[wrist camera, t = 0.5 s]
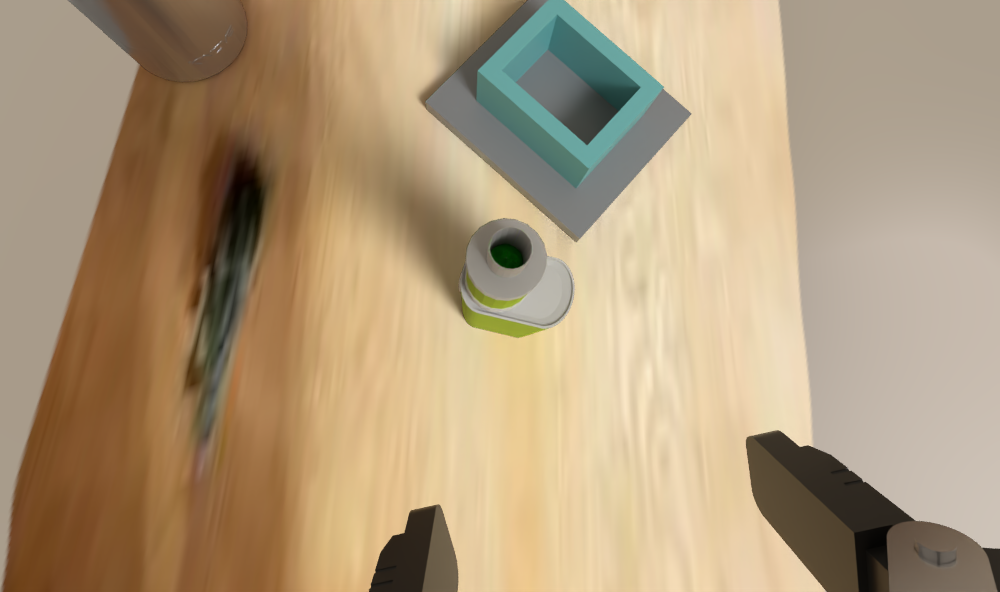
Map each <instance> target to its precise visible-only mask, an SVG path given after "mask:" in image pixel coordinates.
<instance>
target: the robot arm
mask: <svg viewBox="0 0 1000 592" xmlns="http://www.w3.org/2000/svg"><path fill="white" fill-rule="evenodd" d="M68 1H69V2H71V3H72V4H73V5H74V6H75V7H76V8H77V9H78V10H79V11H81V12H82V13H83V14H84V15H85V16H86V17H88V18H89V19H90V20H91V21H92V22H93V23H94V24H95V25H96V26H97V27H99V28H100V29H101V30H102V31H103V32H104V33H105V34H106V35H107V36H108V37H110V38H111V39H112V40H113V41H114V42H115V43H116V44H117V45H119V46H120V47H121V48H122V49H123V50H124V51H125V52H126V53H128V54H129V55H130V56H131V57H132V58H133V59H135V60H136V61H137V62H138V63H139V64H140V65H141V66H142V67H143V68H145V69H146V70H147V71H149V72H151V73H152V74H154V75H156V76H158V77H161V78H164V79H167V80H171V81H179V82H189V81H197V80H201V79H205V78H209V77H211V76H213V75H215V74H217V73H219V72H221V71H222V70H223V69H225V68H226V67H227V66H229V65H230V64H231V63H232V62H233V60H234V59H235V58H236V57H237V56H238V54H239V52H240V51H241V49H242V47H243V45H244V42H245V38H246V35H247V19H246V14H245V11H244V8H243V6H242V4H241V2H240V0H68ZM746 449H747V456H748V464H749V471H750V479H751V486H752V492H753V496H754V499H755V501H756V504H757V506H758V508H759V510H760V511H761V513H762V515H763V516H764V517H765V518H766V520H767V521H768V522H769V523H770V524H771V526H772V527H773V528H774V529H775V530H776V532H777V533H778V534H779V535H780V536H781V538H782V539H783V540H784V541H785V542H786V544H787V545H788V546H789V547H790V548H791V549H792V551H793V552H794V553H795V554H796V555H797V557H798V558H799V559H800V560H801V561H802V563H803V564H804V565H805V566H806V567H807V569H808V570H809V571H810V572H811V573H812V575H813V576H814V577H815V578H816V579H817V580H818V582H819V583H820V584H821V585H822V586H823V588H824V589H825V590H826V591H827V592H1000V549H992V548H981V546H980V545H979V544H978V543H976V542H975V541H974V540H973V539H971V538H970V537H968V536H966V535H965V534H963V533H961V532H959V531H957V530H954V529H952V528H949V527H946V526H943V525H940V524H935V523H931V522H924V521H915V520H914V519H913V518H911V517H910V516H909V515H907V514H906V513H904V511H902V510H901V509H900V508H898V507H897V506H896V505H895V504H893V503H892V502H891V501H889V500H888V499H887V498H885V497H884V496H883V495H882V494H880V493H879V492H878V491H877V490H875V489H874V488H873V487H871V486H870V485H869V484H868V483H866V482H863V481H862V479H861V478H860V477H858V476H857V475H856V474H855V473H853V472H852V471H849V470H848V468H847V467H846V466H844V465H843V464H842V463H840V462H839V461H838V460H837V459H835V458H834V457H833V456H832V455H830V454H827V453H825V452H823V451H820V450H818V449H815V448H813V447H811V446H803V447H799V446H798V445H797V444H796V443H794V442H793V441H792V440H791V439H790V438H788V437H787V436H786V435H785V434H784V433H782V432H781V431H778V430H776V431H772V432H767V433H763V434H758V435H754V436H749V437H747V439H746ZM375 571H376V573H375V574H374V576H373V579H372V583H371V588H370V589H369V592H457V591H458V566H457V560H456V555H455V551H454V548H453V545H452V541H451V538H450V534H449V531H448V528H447V524H446V521H445V518H444V514H443V511H442V508H441V506H440V505H439V504H438V505H433V506H429V507H424V508H420V509H415V510H411V511H410V513H409V517H408V521H407V525H406V529H405V533H403V534H399V535H394V536H392V538H391V539H390V540H389V542H388V543H387V544H386V546H385V547H384V549H383V550H382V551H381V553H380V556H379V559H378V563H377V566H376V569H375Z"/></svg>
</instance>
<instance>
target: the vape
mask: <svg viewBox="0 0 1000 592" xmlns="http://www.w3.org/2000/svg"><path fill="white" fill-rule="evenodd" d="M459 291H460V292H461V298H462V310H463V315H464V318H465V320H466V322H467V323H468V324H469V325H470V326H472V327H474V328H479V329H483V330H487V331H491V332H495V333H500V334H504V335H508V336H512V337H516V338H520V337H524V336H527V335H530V334H533V333H536V332H539V331H542V330H545V329H548V328H551V327H554V326H556V325H557V324H559V323H560V322H561V321H562V320H563V319H564V318H565V316H566V315H567V314H568V312H569V310H570V308H571V305H572V302H573V298H574V279H573V275H572V273H571V271H570V269H569V267H568V266H567V265H566V263H565V262H563V261H562V260H560V259H558V258H554V257H550V256H547V253H546V249H545V246H544V243H543V241H542V239H541V238H540V236H539V235H538V233H537V232H536V231H535V230H533V229H532V228H531V227H530V226H529V225H528V224H525V223H523V222H520V221H518V220H515V219H505V218H503V219H498V220H493V221H490V222H488V223H487V224H485V225H483V226H482V227H480V228H479V229H478V230H477V231H476V232H475V234H474V235H473V236H472V237H471V240H470V242H469V244H468V246H467V251H466V262H465V264H464V267H463V270H462V272H461V275H460V278H459Z"/></svg>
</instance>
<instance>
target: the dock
mask: <svg viewBox="0 0 1000 592" xmlns="http://www.w3.org/2000/svg"><path fill="white" fill-rule="evenodd" d="M663 88H664V87H663V86H662V85H661V84H660V83H659V82H658V81H657V80H655V79H654V78H653V77H652V76H651V75H650V74H648V73H647V72H646V71H645V70H644V69H643V68H642V67H640V66H639V65H638V64H637V63H636V62H635V61H634V60H632V59H631V58H630V57H629V56H628V55H627V54H625V53H624V52H623V51H622V50H621V49H620V48H619V47H617V46H616V45H615V44H614V43H613V42H612V41H610V40H609V39H608V38H607V37H606V36H605V35H604V34H602V33H601V32H600V31H599V30H598V29H597V28H596V27H594V26H593V25H592V24H591V23H590V22H589V21H587V20H586V19H585V18H584V17H583V16H582V15H581V14H579V13H578V12H577V11H576V10H575V9H574V8H572V7H571V6H570V5H569V4H568V3H567V2H566V1H564V0H527V1H526V2H525V3H524V4H523V5H522V6H521V7H520V8H519V9H518V10H517V11H516V12H515V13H514V14H513V15H512V16H511V17H510V18H509V19H508V20H507V21H506V22H505V23H504V24H503V25H502V26H501V27H500V28H499V29H498V30H497V31H496V32H495V33H494V34H493V35H492V36H491V37H490V38H489V39H488V40H487V41H486V42H485V43H484V44H483V45H482V46H481V47H480V48H479V49H478V50H477V51H476V52H475V53H474V54H473V55H472V56H471V57H470V58H469V59H468V60H467V61H466V62H465V63H464V64H463V65H462V66H461V67H460V68H459V69H458V70H457V71H456V72H455V73H454V74H453V75H452V76H450V77H449V78H448V79H447V80H446V81H445V82H444V83H443V84H442V85H441V86H440V87H439V88H438V89H437V90H436V91H435V92H434V93H433V94H432V95H431V96H430V97H429V98H428V99H427V100H426V101H425V103H426V109H427V110H428V111H429V112H430V113H431V114H432V115H433V116H435V117H436V118H437V119H438V120H439V121H440V122H441V123H442V124H444V125H445V126H446V127H447V128H448V129H449V130H450V131H451V132H453V133H454V134H455V135H456V136H457V137H458V138H459V139H460V140H462V141H463V142H464V143H465V144H466V145H467V146H468V147H470V148H471V149H472V150H473V151H474V152H475V153H476V154H477V155H479V156H480V157H481V158H482V159H483V160H484V161H485V162H486V163H488V164H489V165H490V166H491V167H492V168H493V169H494V170H495V171H497V172H498V173H499V174H500V175H501V176H502V177H503V178H504V179H506V180H507V181H508V182H509V183H510V184H511V185H512V186H513V187H515V188H516V189H517V190H518V191H519V192H520V193H521V194H522V195H524V196H525V197H526V198H527V199H528V200H529V201H530V202H531V203H533V204H534V205H535V206H536V207H537V208H538V209H539V210H540V211H542V212H543V213H544V214H545V215H546V216H547V217H548V218H549V219H551V220H552V221H553V222H554V223H555V224H556V225H557V226H558V227H560V228H561V229H562V230H563V231H564V232H565V233H566V234H567V235H569V236H570V237H571V238H572V239H573V240H574V241H575V242H577V241H578V240H579V239H580V238H581V237H582V236H583V235H584V233H585V232H586V231H587V230H588V229H589V228H590V227H591V226H592V225H593V223H594V222H595V221H596V220H597V219H598V218H599V217H600V216H601V214H602V213H603V212H604V211H605V210H606V209H607V208H608V207H609V206H610V204H611V203H612V202H613V201H614V200H615V199H616V198H617V197H618V195H619V194H620V193H621V192H622V191H623V190H624V189H625V188H626V187H627V185H628V184H629V183H630V182H631V181H632V180H633V179H634V178H635V176H636V175H637V174H638V173H639V172H640V171H641V170H642V169H643V168H644V166H645V165H646V164H647V163H648V162H649V161H650V160H651V159H652V157H653V156H654V155H655V154H656V153H657V152H658V151H659V150H660V149H661V147H662V146H663V145H664V144H665V143H666V142H667V141H668V140H669V138H670V137H671V136H672V135H673V134H674V133H675V132H676V131H677V130H678V128H679V127H680V126H681V125H682V124H683V123H684V122H685V121H686V119H687V118H688V117H689V116H690V115H691V113H690V112H689V111H688V110H687V109H686V108H684V107H683V106H682V105H681V104H680V103H679V102H677V101H676V100H675V99H674V98H673V97H672V96H671V95H669V94H668V93H667V92H666V91H665V90H664V89H663Z"/></svg>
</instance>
